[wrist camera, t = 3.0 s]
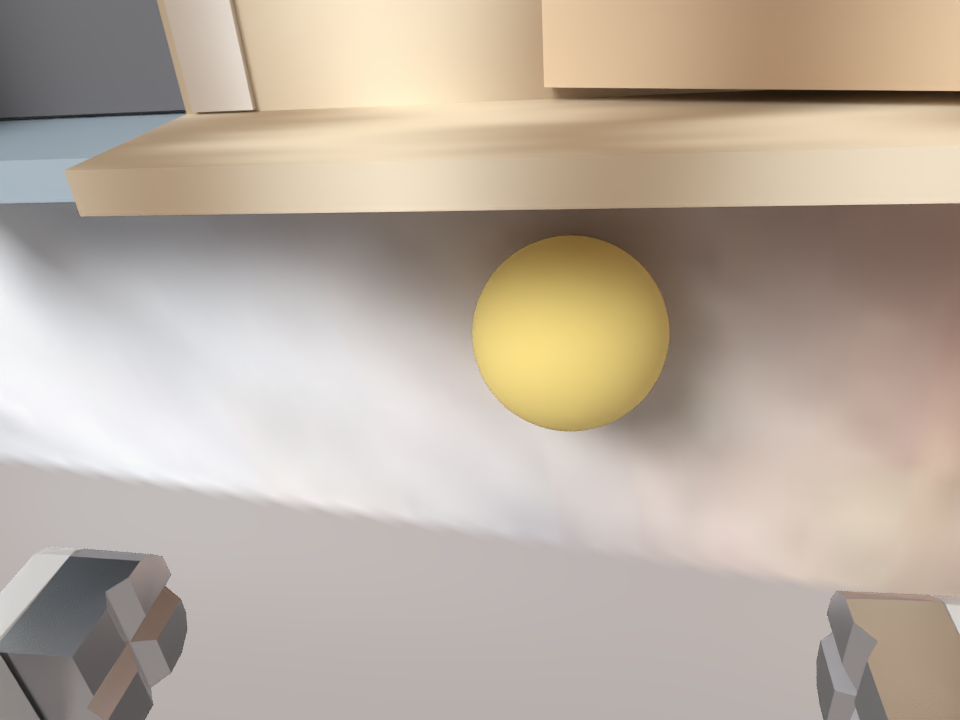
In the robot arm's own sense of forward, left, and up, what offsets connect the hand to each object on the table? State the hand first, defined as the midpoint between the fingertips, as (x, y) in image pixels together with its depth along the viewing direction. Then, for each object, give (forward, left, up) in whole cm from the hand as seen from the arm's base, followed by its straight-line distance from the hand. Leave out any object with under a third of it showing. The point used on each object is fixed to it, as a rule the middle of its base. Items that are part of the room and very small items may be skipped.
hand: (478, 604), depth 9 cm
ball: (-1, 0, -7) cm, 7 cm away
